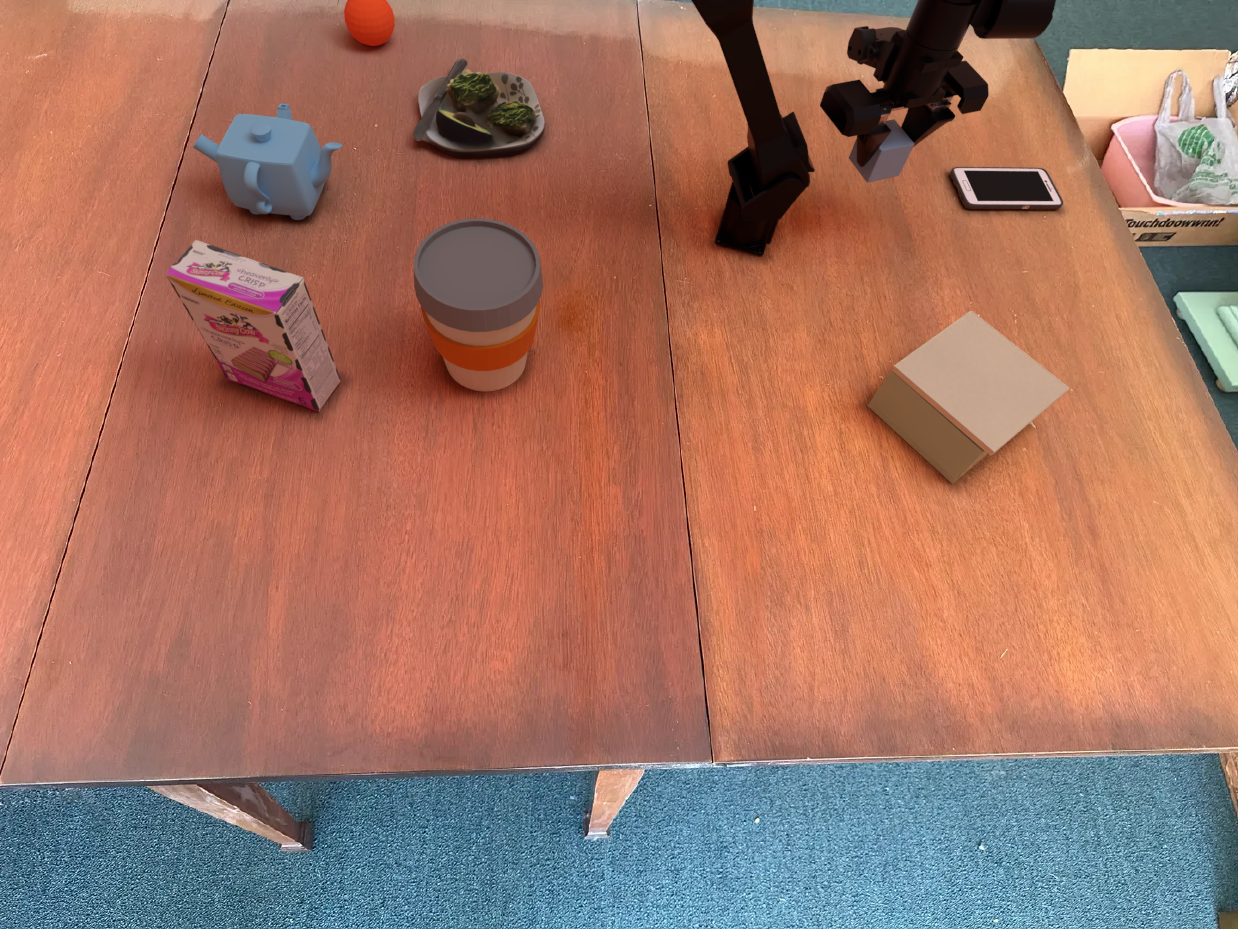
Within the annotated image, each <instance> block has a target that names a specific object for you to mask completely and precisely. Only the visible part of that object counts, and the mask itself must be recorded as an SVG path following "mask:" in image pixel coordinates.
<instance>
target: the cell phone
mask: <svg viewBox="0 0 1238 929" xmlns="http://www.w3.org/2000/svg"><path fill="white" fill-rule="evenodd" d="M949 175H950V178H951V181H953V186H954V187H955V188H956V189H957V194H958V197H959V198H960V201H961V203H962V205H963V206H964V207H965V208H966V209H970V210H1059V209H1061V208H1062V206H1063V205H1064V200H1063V197H1062V196H1061V194H1060V192H1059V191H1058V188H1057V187H1056V185H1055V182H1054V181H1053V179H1052V178H1051V175H1050V174H1049V172H1048V171H1047V170H1046V169H1045V168H1043V167H1020V168H1014V167H1011V166H1010V167H1006V166H1005V167H1003V166H998V167H997V166H955V167H954V166H953V168H951V170H950V172H949Z"/></svg>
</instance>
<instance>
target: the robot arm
mask: <svg viewBox="0 0 1238 929" xmlns="http://www.w3.org/2000/svg"><path fill="white" fill-rule="evenodd" d="M690 1H691V2H692V4H693V6H694V8H695V9H696V11H697V13H698V14H699V16H700V17H701V19H702V21H703V22H704V24H705V25H706V26H707V28H708V29H709V30H710V31H711V32H712V34H713V35H714V37H716V39H717V41H718V43H719V46H720V49H721V52H722V54H723V57H724V60H725V63H726V66H727V68H728V72H729V74H730V78H731V80H732V83H733V86H734V89H735V91H736V94H737V97H738V100H739V103H740V105H741V109H742V112H743V114H744V117H745V120H746V123H747V132H746V133H747V135H746V140H747V147H745V148H744V149H742V150H740V151H739V152H738V153H737V154H735V155H734V156H732V157H731V158H729V159H728V160H727V169H728V175H729V176H730V178H731V183H730V188H729V191H728V195H727V198H726V202H725V205H724V208H723V211H722V214H721V217H720V220H719V225H718V228H717V231H716V235H715V238H714V244H715V245H717V246H720V247H723V248H728V249H731V250H735V251H739V252H742V253H746V254H750V255H753V256H757V257H763V256H765V251H766V249H767V248H766V247H767V245H771V244H772V240H773V238H774V235H775V232H776V229H777V227H778V223H779V221H780V220H781V219H782V218H783V217H784V215H785V214H786V213H787V212H788V211H789V209H790V208H791V207H792V205H793V204H794V203H795V202H796V200H798V198H799V197H800V196H801V195H802V193H804V192H805V190H806V189H807V188H808V187H810V184H811V175H810V173H815V171H816V169H815V167H814V164H813V161H812V160H811V156H810V154H809V148H808V142H807V140H806V138H805V136H804V133H803V131H802V128H801V126H800V124H799V121H798V118H797V116H796V114H795V111H791V112H789V113H787V115H785V116H782V114H781V112H780V108H779V105H778V101H777V98H776V95H775V92H774V89H773V88H774V87H773V85H772V82H771V79H770V75H769V71H768V69H767V65H766V62H765V59H764V58H765V57H764V55H763V52H762V48H761V45H760V41H759V39H758V35H757V31H756V28H755V25H754V4H755V3H754V2H755V0H690ZM1056 2H1057V0H917V2H916V4H915V6H914V9H913V12H912V13H911V16H910V19H909V20H908V24H907V25H906V28H905V29H904V28H900V27H897V26H886V27H880V28H874V27H872V28H870V27H869V26H868V25H864V26H858V27H854V28H853V30H852V32H851V35H850V38H849V39H848V43H847V49H846V55H847V57H848V59H850V60H852V61H855V62H856V63H857V64H858V65H860V66H861V65H865V66H868V67H870V68H873V69H875V70H874V72H873V74H872V76H873V77H874V79H875V80H876V81H877V82H878V83H880V82H882V83H883V86H882V87H880V88H875V91H873V92H871V91H870V90H869V89H868V87H866V85H865V84H864V83H863V81H862V80H861V79H854V80H849V81H843V82H837V83H833V84H830V85H828V86H826V87H825V89H824V92H823V95H822V98H821V99H820V103H819V107H820V109H821V110H822V111H823V112H824V114H825V115H826V116H827V117H828V119H829V120H830V122H831V123H832V124H833V125H834V126H835V128H836V129H837V130H838V132H839V133H840V134H841V135H842V136H844V137H848V138H852V137H856V139H857V163H858V164H859V166H860V167H863V166H865V165H866V163H867V162H868V161H869V160H870V159H871V158H872V156H873V155H874V154H875V152H876V151H877V150H878V148H879V147H880V146H881V144H882V143H883V142H884V141H885V139H886V138H887V137H888V135H889V134H890V133H891V129H890V128H889V127H888V126H887V125H886V121H888V118H889V116H890V115H891V113H892V112H894V111H899V110H905V109H907V111H906V114H905V116H904V119H903V121H902V123H901V125H900V127H901V128H902V129H903V130H904V131H905V133H906V134H907V135H908V136H909V138H910V139H911V140H912V141H913V142H914V146H913V148H915V147H916V146H917V145H919V144H920V143H921V142H923V141H924V140H925V139H927V138H928V137H929V136H930V135H932V134H934V132H936V131H937V130H939V129H940V128H941V127H943V126H945V125H946V124H947V123H950V122H953V121H954V120H955V118H956V115H955V113H954V111H952V110H951V108H950V107H951V106H952V100H953V98H954V97H955V96H958V97H959V98H960V99H959V101H958V103H957V105H956V107H957V109H958V111H959V113H960V114H961V115H966V114H970V113H976V112H981V111H982V109H983V107H984V105H985V103H986V102H987V101H988V98H989V97H990V96H989V95H990V93H989V91H990V90H989V83H988V82H987V81H986V80H985V79H984V77H982V75H980V73H979V72H977V70H975V68H974V67H973V66H972V64H970V63H969V62H968V61H967V60H963V59H964V56H963V54H962V53H961V52H960V51H959V48H960V46H961V44H962V42H963V40H964V38H965V36H966V34H967V31H968V30H969V27H970V26H971V27H972V29H973V32H974V35H975V36H976V37H978V38H979V39H982V40H1005V39H1006V40H1010V39H1011V40H1012V39H1013V40H1015V39H1018V40H1019V39H1020V40H1021V39H1022V40H1023V39H1026V40H1028V39H1029V40H1030V39H1036V38H1038V37H1040V36H1041V35H1042V34H1044V32H1045V31H1046V30H1047V28H1048V27H1049V25H1050V24H1051V22H1052V20H1053V18H1054V15H1053V13H1054V11H1055V6H1056Z"/></svg>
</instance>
